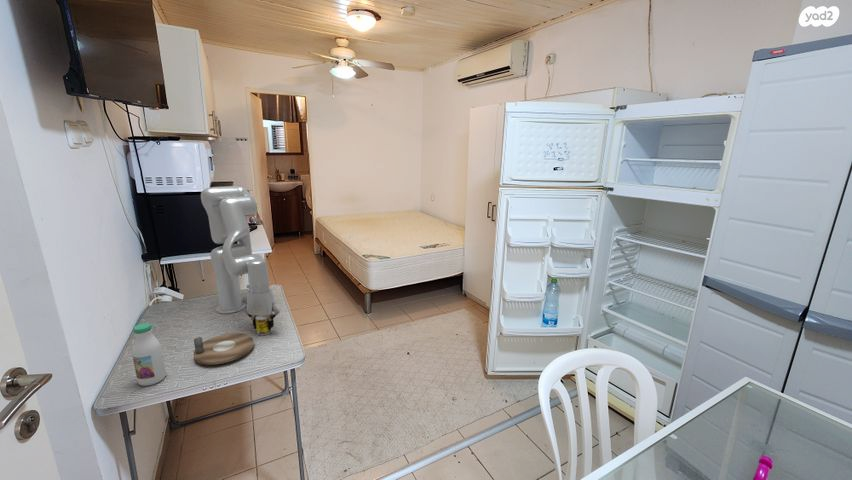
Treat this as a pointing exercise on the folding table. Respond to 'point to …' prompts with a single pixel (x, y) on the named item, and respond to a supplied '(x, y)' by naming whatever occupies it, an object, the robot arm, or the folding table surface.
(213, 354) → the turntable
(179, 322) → the folding table surface
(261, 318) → the supplement bottle
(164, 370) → the milk bottle
